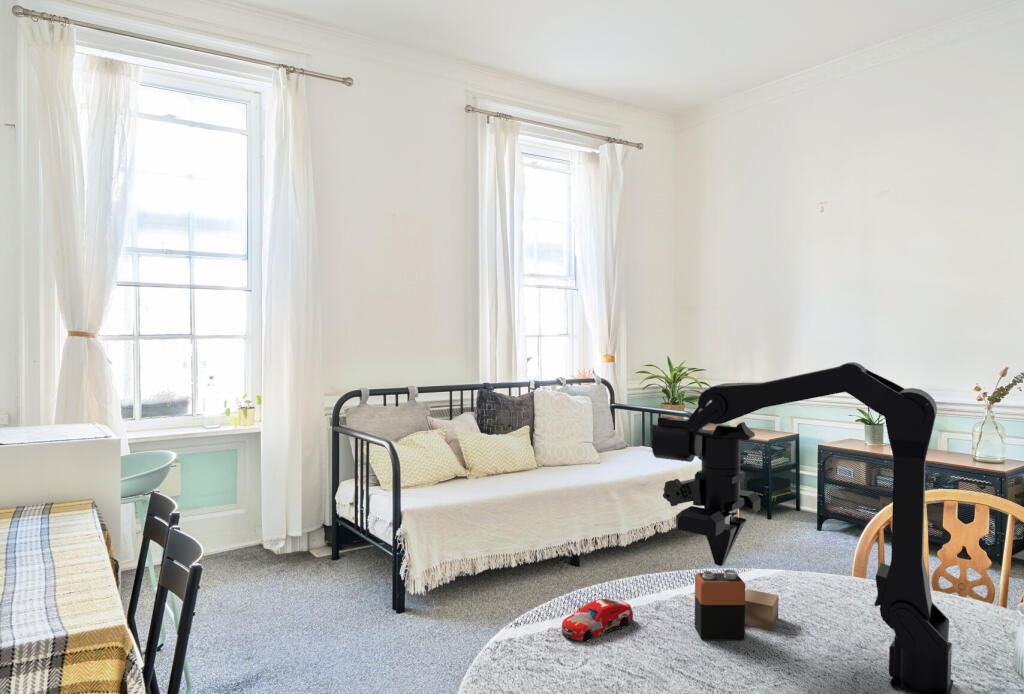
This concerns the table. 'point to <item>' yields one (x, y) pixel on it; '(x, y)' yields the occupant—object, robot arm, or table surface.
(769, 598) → the walnut block
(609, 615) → the race car
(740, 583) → the battery
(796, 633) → the table surface
